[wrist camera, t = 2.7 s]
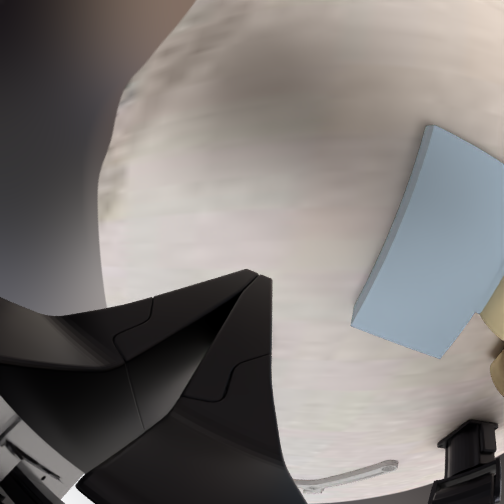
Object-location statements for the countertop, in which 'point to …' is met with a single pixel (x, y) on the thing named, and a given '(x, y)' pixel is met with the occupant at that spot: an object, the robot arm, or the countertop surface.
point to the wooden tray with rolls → (498, 372)
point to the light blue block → (440, 251)
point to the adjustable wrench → (346, 477)
